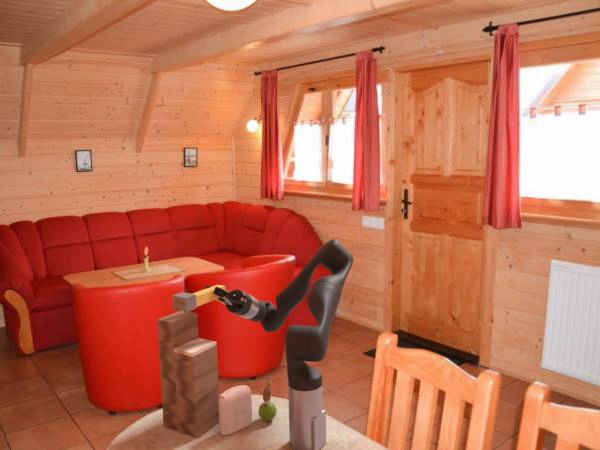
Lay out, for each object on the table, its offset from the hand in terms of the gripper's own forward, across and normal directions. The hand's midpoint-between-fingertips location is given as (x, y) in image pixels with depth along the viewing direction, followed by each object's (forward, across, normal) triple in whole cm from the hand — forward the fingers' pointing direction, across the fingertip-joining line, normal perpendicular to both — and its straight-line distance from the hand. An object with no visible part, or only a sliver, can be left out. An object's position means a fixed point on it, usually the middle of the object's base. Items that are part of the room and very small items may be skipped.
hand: (210, 289), depth 160 cm
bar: (+2, 0, +5) cm, 5 cm away
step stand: (-12, -2, +38) cm, 40 cm away
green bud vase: (-25, +15, +31) cm, 43 cm away
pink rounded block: (-17, +10, +36) cm, 41 cm away
